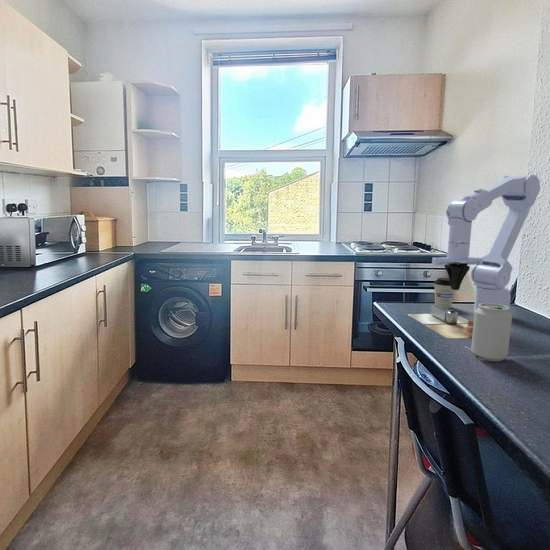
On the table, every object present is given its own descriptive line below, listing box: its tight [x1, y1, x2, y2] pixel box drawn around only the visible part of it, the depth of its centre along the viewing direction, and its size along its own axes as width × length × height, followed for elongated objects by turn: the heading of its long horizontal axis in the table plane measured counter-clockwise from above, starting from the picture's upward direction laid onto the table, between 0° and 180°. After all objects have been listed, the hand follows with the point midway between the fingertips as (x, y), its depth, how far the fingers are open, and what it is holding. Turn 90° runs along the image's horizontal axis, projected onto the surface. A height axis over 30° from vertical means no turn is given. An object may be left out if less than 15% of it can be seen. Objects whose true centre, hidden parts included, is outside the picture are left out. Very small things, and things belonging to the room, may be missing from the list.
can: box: [470, 303, 513, 362], centre depth 98 cm, size 8×8×12 cm
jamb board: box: [406, 309, 474, 340], centre depth 121 cm, size 15×23×5 cm, turn 8°
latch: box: [430, 304, 459, 324], centre depth 125 cm, size 11×3×3 cm, turn 8°
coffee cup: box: [433, 277, 456, 310], centre depth 140 cm, size 7×7×10 cm
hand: (454, 289), depth 126 cm, fingers closed
